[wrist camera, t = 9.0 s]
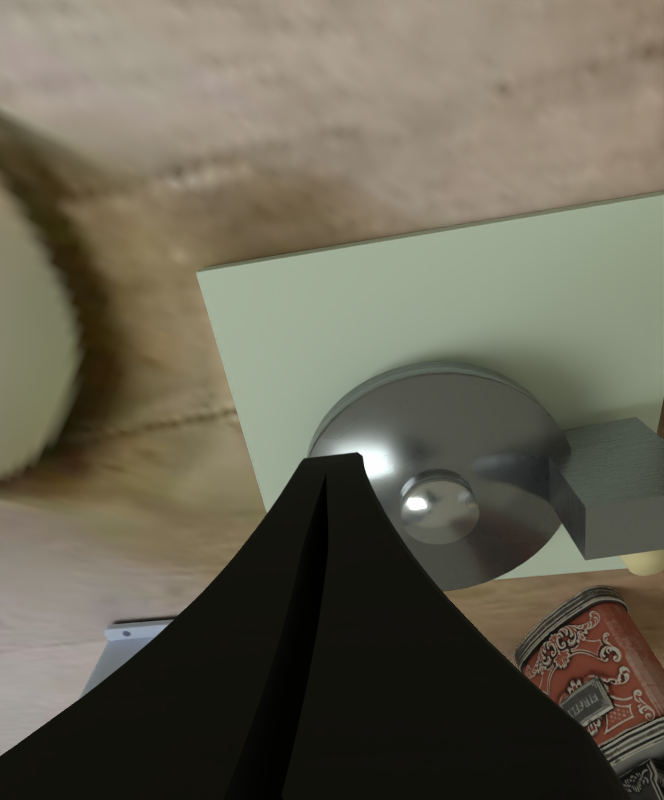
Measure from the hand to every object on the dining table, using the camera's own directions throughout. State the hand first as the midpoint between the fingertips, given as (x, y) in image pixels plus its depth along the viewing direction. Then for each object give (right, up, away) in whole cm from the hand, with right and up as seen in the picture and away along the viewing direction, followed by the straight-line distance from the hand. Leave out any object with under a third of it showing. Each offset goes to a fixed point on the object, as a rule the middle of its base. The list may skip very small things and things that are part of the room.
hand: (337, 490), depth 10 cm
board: (+5, +1, +11) cm, 12 cm away
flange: (+6, -1, +9) cm, 11 cm away
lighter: (+14, -12, +17) cm, 25 cm away
